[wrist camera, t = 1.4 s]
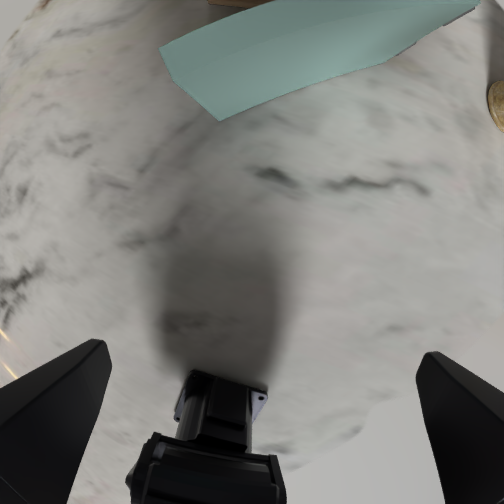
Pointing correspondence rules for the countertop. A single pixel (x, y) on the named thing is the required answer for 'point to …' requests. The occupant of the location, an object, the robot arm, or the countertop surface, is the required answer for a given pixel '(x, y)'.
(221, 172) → the countertop surface
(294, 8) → the door
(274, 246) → the countertop surface
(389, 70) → the countertop surface
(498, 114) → the sprinkles bottle
